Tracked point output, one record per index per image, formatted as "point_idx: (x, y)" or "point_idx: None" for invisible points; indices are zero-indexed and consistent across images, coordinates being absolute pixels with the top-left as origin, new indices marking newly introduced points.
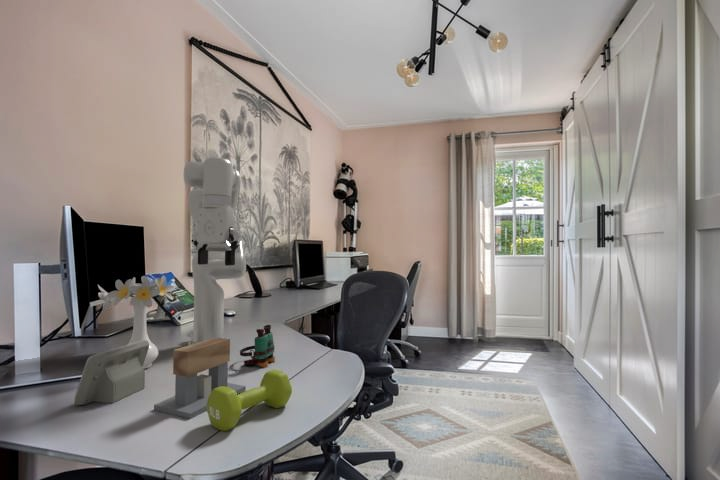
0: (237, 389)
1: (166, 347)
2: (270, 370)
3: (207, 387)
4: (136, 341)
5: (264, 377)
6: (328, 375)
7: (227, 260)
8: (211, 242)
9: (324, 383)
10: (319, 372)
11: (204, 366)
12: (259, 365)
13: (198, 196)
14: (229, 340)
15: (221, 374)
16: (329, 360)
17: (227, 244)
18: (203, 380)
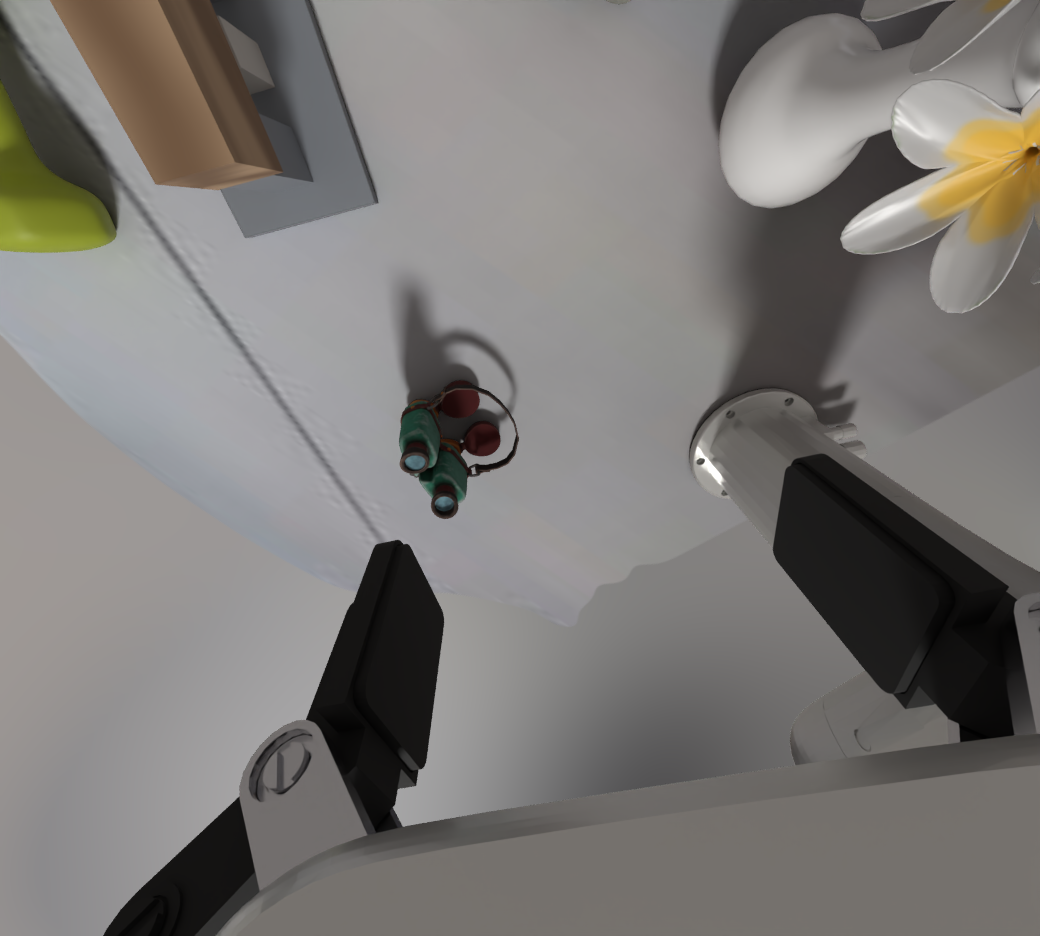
0: (229, 198)
1: (863, 343)
2: (5, 215)
3: None
4: (826, 65)
5: (6, 183)
6: (234, 463)
7: (368, 590)
8: (608, 815)
9: (180, 417)
10: (270, 465)
11: None
12: (419, 400)
13: None
14: (157, 180)
15: None
16: (342, 537)
17: (273, 854)
18: None
